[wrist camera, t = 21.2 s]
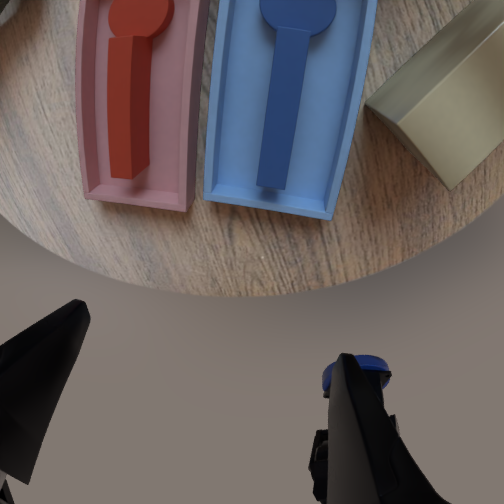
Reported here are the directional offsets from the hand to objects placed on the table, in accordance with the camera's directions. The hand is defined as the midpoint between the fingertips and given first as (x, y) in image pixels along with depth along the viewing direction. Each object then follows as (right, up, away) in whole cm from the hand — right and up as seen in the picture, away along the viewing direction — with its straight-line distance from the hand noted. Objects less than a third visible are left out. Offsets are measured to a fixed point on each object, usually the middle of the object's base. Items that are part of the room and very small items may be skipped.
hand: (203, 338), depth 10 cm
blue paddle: (+3, +12, +4) cm, 13 cm away
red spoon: (-5, +13, +5) cm, 15 cm away
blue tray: (+4, +12, +5) cm, 14 cm away
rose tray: (-5, +13, +6) cm, 15 cm away
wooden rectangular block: (+13, +14, +2) cm, 19 cm away
